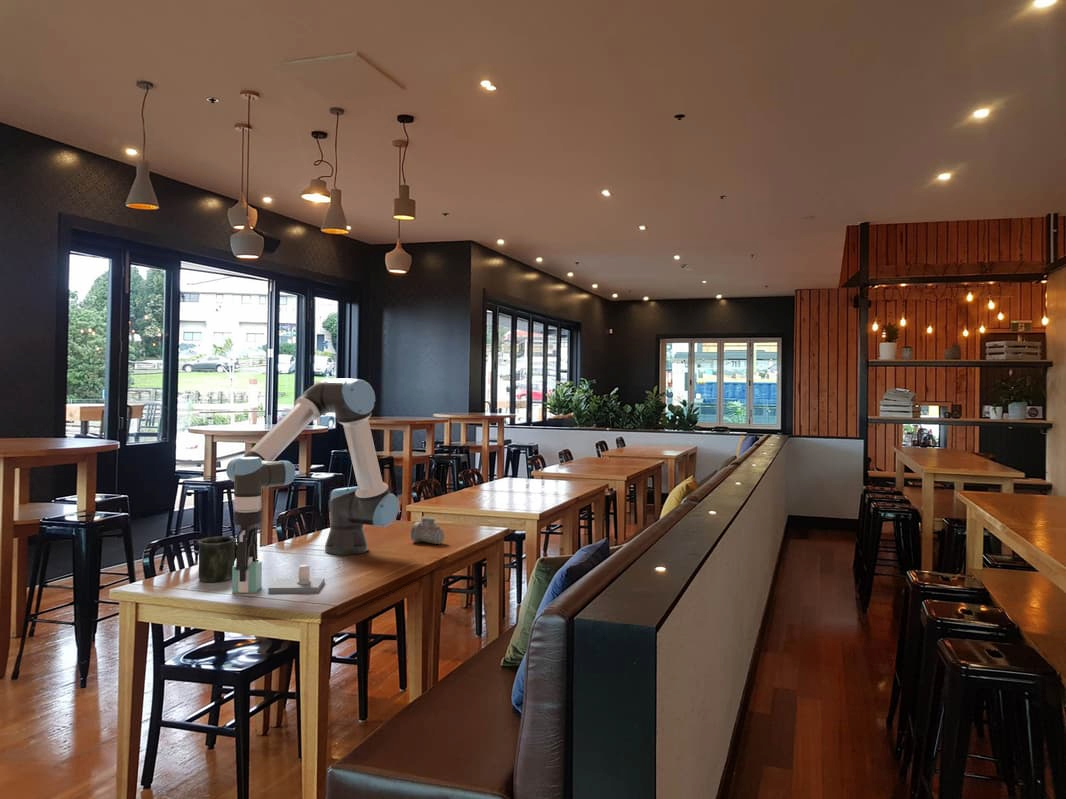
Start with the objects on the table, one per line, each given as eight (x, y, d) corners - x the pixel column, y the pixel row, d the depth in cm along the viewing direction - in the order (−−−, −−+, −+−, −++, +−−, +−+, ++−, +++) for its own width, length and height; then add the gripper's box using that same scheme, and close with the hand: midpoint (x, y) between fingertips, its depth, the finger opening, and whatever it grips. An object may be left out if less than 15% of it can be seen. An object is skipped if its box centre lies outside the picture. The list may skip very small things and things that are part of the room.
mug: (188, 581, 233) (189, 542, 233) (221, 570, 247) (221, 533, 247) (219, 584, 230) (219, 544, 230) (250, 573, 244) (250, 535, 244)
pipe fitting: (407, 542, 294) (412, 515, 294) (420, 540, 302) (424, 514, 302) (433, 549, 289) (437, 522, 289) (445, 547, 296) (449, 521, 296)
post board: (277, 583, 232) (277, 561, 232) (324, 583, 234) (324, 561, 234) (268, 593, 221) (268, 570, 221) (317, 592, 223) (318, 570, 223)
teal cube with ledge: (238, 586, 228) (238, 556, 228) (261, 586, 228) (261, 556, 228) (232, 592, 221) (232, 561, 221) (255, 592, 222) (256, 561, 222)
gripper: (243, 505, 234) (242, 580, 234) (224, 515, 214) (223, 598, 215) (269, 505, 234) (268, 580, 235) (251, 515, 215) (251, 597, 215)
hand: (246, 588), depth 225 cm, fingers closed on teal cube with ledge, 7 cm apart
